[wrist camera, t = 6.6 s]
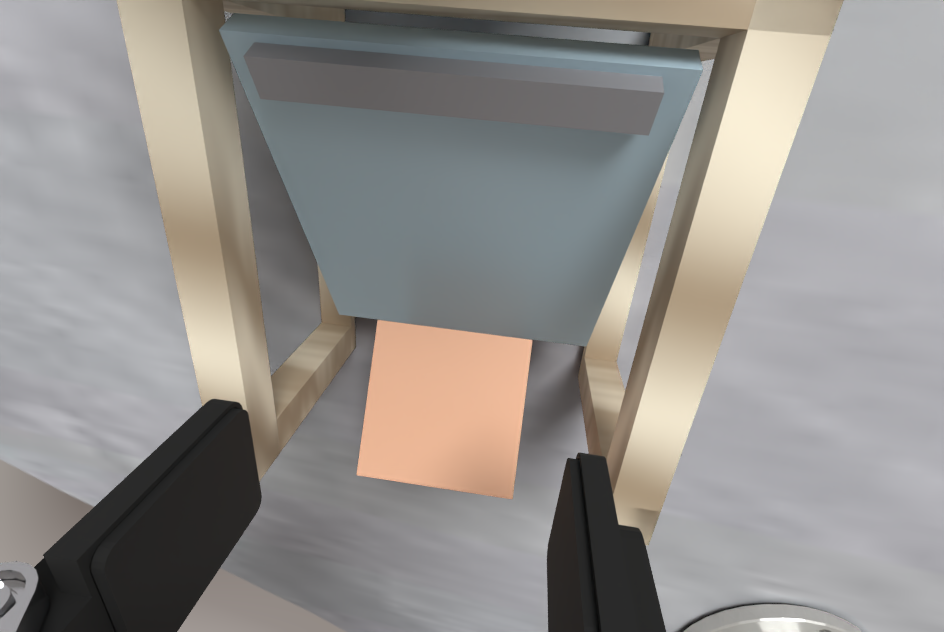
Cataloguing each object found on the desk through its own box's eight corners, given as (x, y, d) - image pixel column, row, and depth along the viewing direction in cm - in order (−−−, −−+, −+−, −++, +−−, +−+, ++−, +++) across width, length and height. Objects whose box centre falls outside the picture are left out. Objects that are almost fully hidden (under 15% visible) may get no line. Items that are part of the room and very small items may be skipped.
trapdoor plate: (586, 330, 20) (586, 359, 19) (344, 299, 20) (334, 326, 20) (698, 49, 10) (706, 86, 9) (234, 13, 11) (206, 43, 10)
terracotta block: (525, 338, 20) (510, 457, 20) (408, 323, 20) (393, 440, 20) (532, 340, 15) (512, 499, 15) (377, 320, 15) (356, 475, 15)
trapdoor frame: (608, 381, 23) (648, 545, 15) (328, 343, 25) (217, 475, 16) (698, 16, 17) (866, -65, 8) (306, -13, 18) (93, -110, 9)
